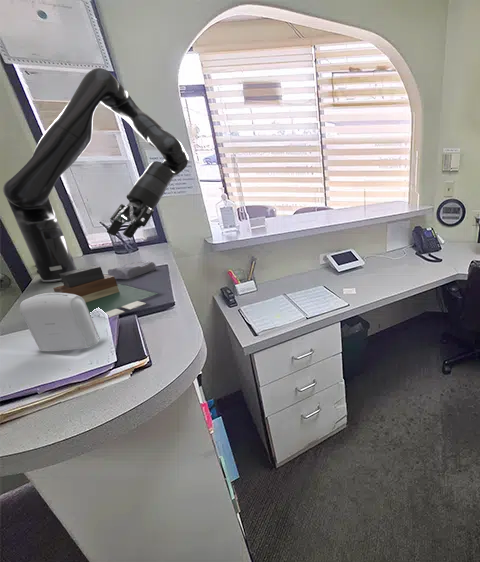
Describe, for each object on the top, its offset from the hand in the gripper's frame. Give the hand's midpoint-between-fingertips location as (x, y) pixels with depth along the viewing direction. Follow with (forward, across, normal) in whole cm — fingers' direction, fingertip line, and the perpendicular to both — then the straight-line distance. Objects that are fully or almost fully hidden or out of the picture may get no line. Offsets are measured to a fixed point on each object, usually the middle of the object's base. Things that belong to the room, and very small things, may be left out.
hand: (118, 235), depth 93 cm
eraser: (+19, 0, -3) cm, 20 cm away
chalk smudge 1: (+22, -17, -1) cm, 28 cm away
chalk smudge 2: (+18, -17, -5) cm, 26 cm away
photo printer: (+30, -26, +7) cm, 41 cm away
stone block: (+7, +13, -16) cm, 22 cm away
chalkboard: (+20, -5, -3) cm, 21 cm away
